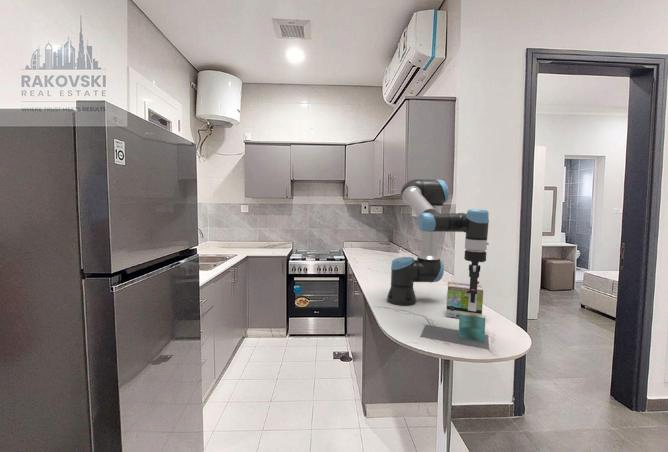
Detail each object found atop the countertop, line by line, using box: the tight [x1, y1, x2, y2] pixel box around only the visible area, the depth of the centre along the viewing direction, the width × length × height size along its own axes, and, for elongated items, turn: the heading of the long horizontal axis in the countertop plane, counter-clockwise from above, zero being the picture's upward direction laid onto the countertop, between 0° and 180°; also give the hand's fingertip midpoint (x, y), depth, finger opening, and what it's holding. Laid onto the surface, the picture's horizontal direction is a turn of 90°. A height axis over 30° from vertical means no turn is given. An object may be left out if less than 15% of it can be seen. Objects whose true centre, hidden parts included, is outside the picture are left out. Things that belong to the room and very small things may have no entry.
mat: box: [419, 324, 490, 350], centre depth 124 cm, size 24×14×1 cm, turn 65°
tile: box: [458, 312, 486, 341], centre depth 122 cm, size 9×3×9 cm, turn 66°
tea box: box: [445, 281, 484, 319], centre depth 148 cm, size 15×10×15 cm
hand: (472, 305), depth 122 cm, fingers open, 13 cm apart
